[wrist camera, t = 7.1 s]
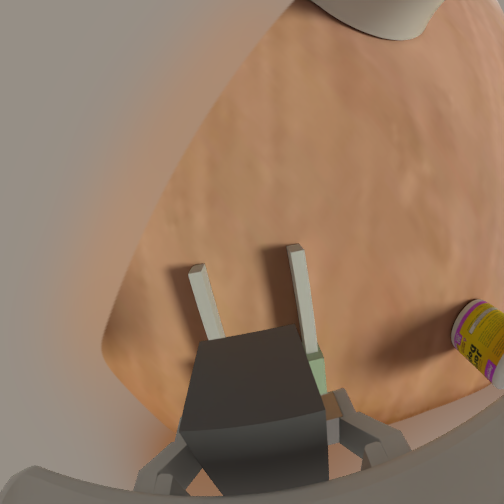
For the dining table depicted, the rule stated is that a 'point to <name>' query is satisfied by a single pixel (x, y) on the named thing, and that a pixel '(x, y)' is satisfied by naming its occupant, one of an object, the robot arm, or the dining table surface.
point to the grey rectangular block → (256, 413)
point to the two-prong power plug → (303, 303)
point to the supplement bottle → (481, 339)
